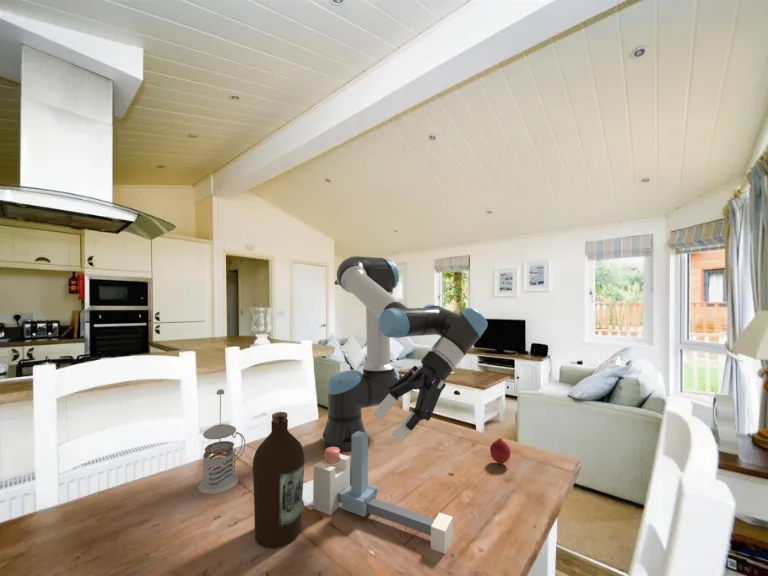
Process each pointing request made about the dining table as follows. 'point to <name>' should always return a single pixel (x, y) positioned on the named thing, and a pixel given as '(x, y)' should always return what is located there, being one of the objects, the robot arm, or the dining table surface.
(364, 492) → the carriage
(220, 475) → the french press
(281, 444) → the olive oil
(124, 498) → the dining table surface
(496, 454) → the onion
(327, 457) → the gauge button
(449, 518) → the slide rail
